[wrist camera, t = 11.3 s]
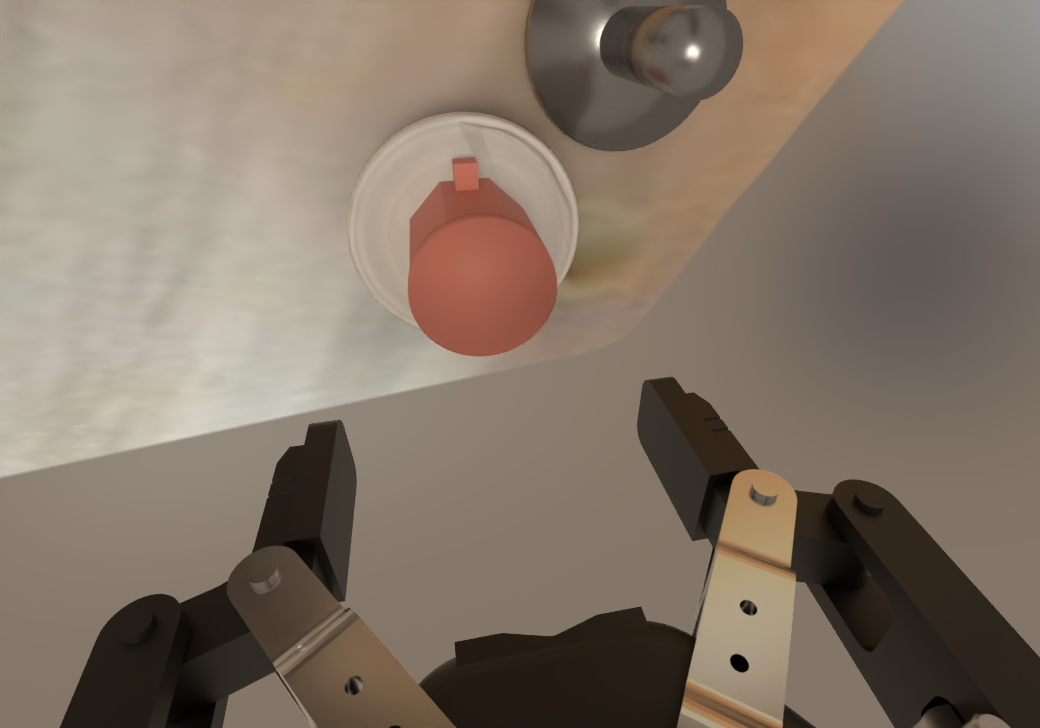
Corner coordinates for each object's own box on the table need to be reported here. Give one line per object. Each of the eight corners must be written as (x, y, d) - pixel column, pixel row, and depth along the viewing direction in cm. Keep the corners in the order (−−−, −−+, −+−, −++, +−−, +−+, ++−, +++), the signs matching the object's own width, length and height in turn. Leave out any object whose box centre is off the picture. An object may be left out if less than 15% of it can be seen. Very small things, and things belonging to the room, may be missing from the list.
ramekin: (594, 170, 30) (624, 197, 26) (492, 322, 34) (504, 367, 30) (415, 47, 25) (416, 55, 21) (324, 242, 30) (309, 281, 25)
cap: (395, 159, 23) (391, 201, 18) (526, 149, 24) (557, 187, 19) (420, 312, 27) (422, 382, 22) (530, 300, 28) (556, 364, 23)
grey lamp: (490, 91, 27) (521, 123, 19) (592, -143, 22) (681, -217, 15) (644, 177, 31) (718, 231, 23) (756, -9, 26) (890, -15, 19)
